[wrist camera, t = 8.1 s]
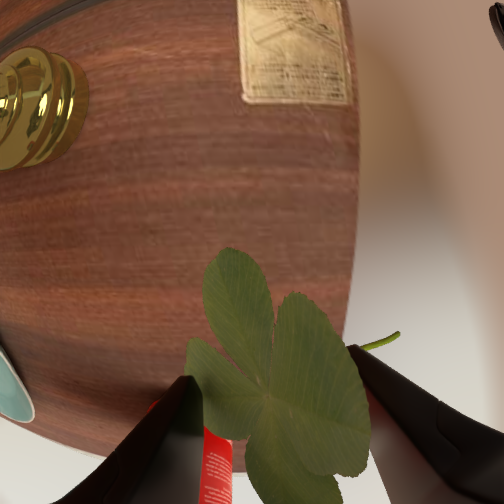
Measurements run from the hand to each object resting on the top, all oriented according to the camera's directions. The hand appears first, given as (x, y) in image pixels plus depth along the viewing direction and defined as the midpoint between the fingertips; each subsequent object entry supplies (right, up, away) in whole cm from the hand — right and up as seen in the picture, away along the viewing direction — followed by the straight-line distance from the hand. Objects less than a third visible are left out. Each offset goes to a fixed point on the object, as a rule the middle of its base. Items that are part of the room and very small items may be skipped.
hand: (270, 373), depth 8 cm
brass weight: (-14, +13, +5) cm, 20 cm away
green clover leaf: (0, 0, +1) cm, 1 cm away
